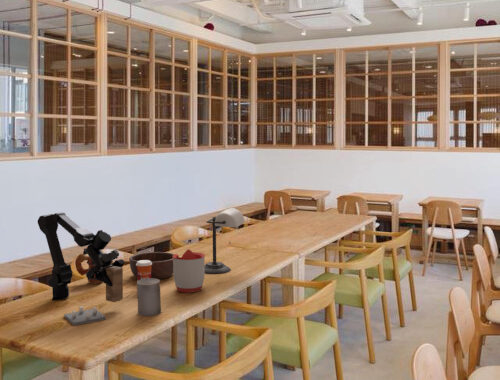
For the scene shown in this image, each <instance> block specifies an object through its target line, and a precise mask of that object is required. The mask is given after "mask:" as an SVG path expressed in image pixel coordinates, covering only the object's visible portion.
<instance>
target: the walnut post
mask: <svg viewBox="0 0 500 380" xmlns="http://www.w3.org/2000/svg"><path fill="white" fill-rule="evenodd" d="M123 271H124V270H123V267H122V268H121V267H116V266H113V267H109V268H106V274H107V276H108V277H109V279H110V281H111V282H112V284H113V286H112V287H111V286H109V285H107V284H105V301H108V302H111V303H117V302H119V301H121V300H123V299H124V294H123V293H124V286H123V285H124V281H123V280H124V279H123V277H124V276H123V274H124V273H123Z"/></svg>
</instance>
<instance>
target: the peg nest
mask: <svg viewBox="0 0 500 380" xmlns="http://www.w3.org/2000/svg"><path fill="white" fill-rule="evenodd" d="M78 308H79V309H78V310H79V311H76V310H73V311H71V312H69V313H64V318H65V319H66V320H67V321H68V323H71V325H72V326H79V325H80V326H81V325H85V324H90V323H95V322H101V321H106V319H107V317H106V316H105V315H104V314H103V313H101V312H100V311H99V310H98V307H97V306H93V307H92V308H90V309H86V310H84V306H79V307H78Z"/></svg>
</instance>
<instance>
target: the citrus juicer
mask: <svg viewBox="0 0 500 380" xmlns="http://www.w3.org/2000/svg"><path fill="white" fill-rule="evenodd" d="M173 254H174V255H173V256H172V257H173V275H172V276H173V282H174V286H175V288H176V290H177V291H178V292H181V293H185V294H187V293H188V294H189V293H195V292H199V291H201V290H202V288H203V285H204V282H205V275H206V274H205V256H206V254H204V253H201V252H198V251H197V252H196V251H195V252H193V251H192V250H191V249H189V248H188V249H186V250H185V252H184V253H183V254H182V256H179V254H177V253H176V254H175V253H173Z"/></svg>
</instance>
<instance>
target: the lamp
mask: <svg viewBox="0 0 500 380" xmlns="http://www.w3.org/2000/svg"><path fill="white" fill-rule="evenodd" d="M245 222H246V220H245V218H244V215H243V213H242V212H241V211H240V210H238V209H237V208H234V207H230V208H227V209H225V210H223V211H221V212H219V213H218V214H217V215H216V216H213V217H211V218H210V219H208V220H206V223H207V224H212V226H211V227H212V229H211V230H212V261H210V262H206V263H204V265H205V275H220V274H221V275H222V274H226V273H229V272H231V271H232V269H231V268H230V266H228V265H226V264H224V263H223V262H221V261H217V227H223V228H224V227H225V228H229V232H231V228H238V227H240V226H241V225H242V224H244V223H245ZM231 243H232V242H231V241H228V244H229V245H230V244H231Z"/></svg>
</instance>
